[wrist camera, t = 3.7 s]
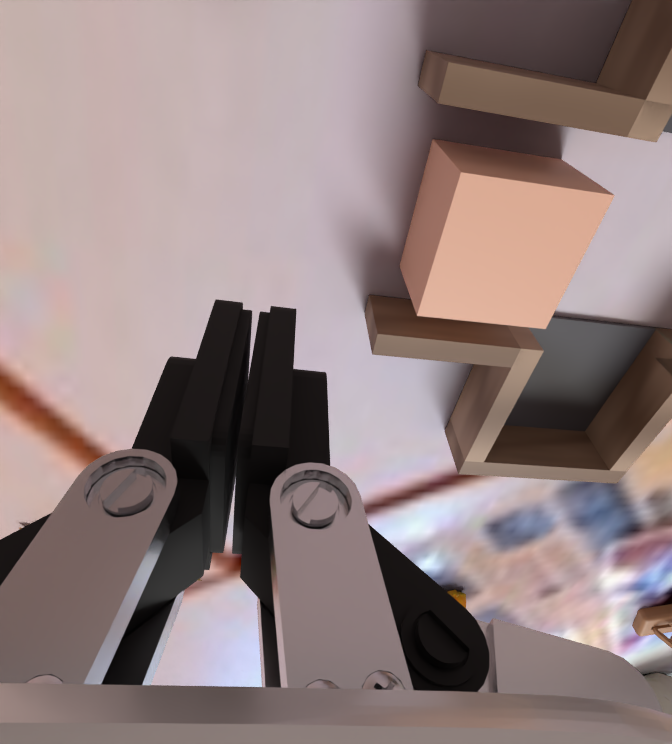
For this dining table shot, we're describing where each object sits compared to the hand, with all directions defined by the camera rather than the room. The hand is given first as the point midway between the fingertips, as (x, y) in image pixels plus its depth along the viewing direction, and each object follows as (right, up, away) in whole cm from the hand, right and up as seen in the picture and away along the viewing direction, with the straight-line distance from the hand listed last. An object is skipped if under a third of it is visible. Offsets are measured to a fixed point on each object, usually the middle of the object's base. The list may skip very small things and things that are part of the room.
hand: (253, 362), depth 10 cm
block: (+7, +6, +9) cm, 13 cm away
